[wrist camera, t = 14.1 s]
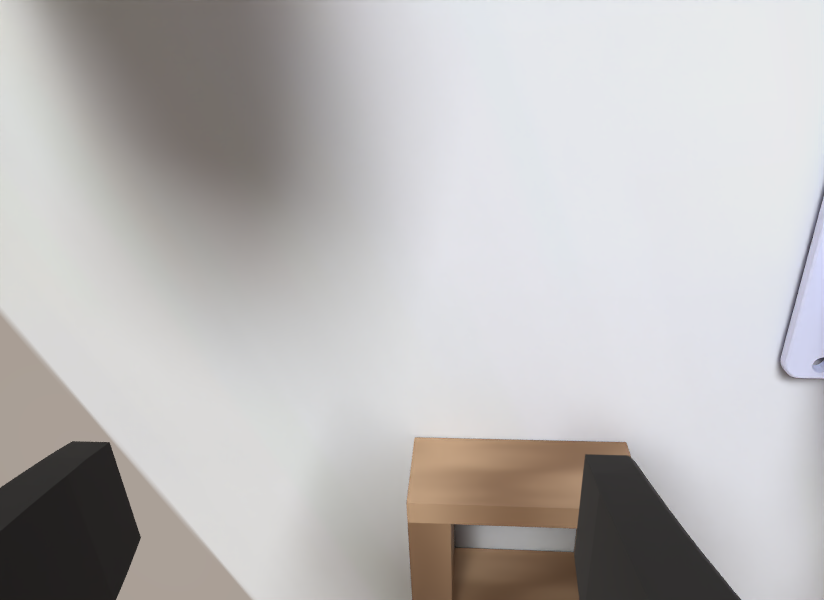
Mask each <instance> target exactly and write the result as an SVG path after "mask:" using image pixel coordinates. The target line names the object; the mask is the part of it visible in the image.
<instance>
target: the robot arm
mask: <svg viewBox="0 0 824 600" xmlns="http://www.w3.org/2000/svg"><path fill="white" fill-rule="evenodd" d="M823 357H824V197H823V201H822V205H821V209H820V212H819V216H818V220H817V224H816V227H815V231H814V235H813V239H812V243H811V246H810V250H809V254H808V258H807V261H806V265H805V269H804V273H803V276H802V280H801V284H800V288H799V291H798V295H797V299H796V303H795V306H794V310H793V314H792V318H791V321H790V325H789V329H788V333H787V336H786V340H785V344H784V348H783V352H782V355H781V365H782V367H783V369H784V370H785V371H786V372H787V374H789V375H790V376H792V377H795V378H818V379H824V361H823V362H821V363H820V364H818V365H813V363H814V362H815V361H816V360H817V359H819V358H823ZM140 538H141V537H140V534H139V531H138V528H137V525H136V522H135V519H134V516H133V513H132V510H131V507H130V503H129V500H128V497H127V494H126V491H125V488H124V485H123V482H122V479H121V476H120V473H119V470H118V467H117V464H116V461H115V458H114V455H113V451H112V448H111V445H110V443H109V442H75V441H73V442H71V443H69V444H67V445H66V446H64V447H62V448H61V449H59V450H57V451H55V452H54V453H52V454H51V455H49V456H48V457H46V458H45V459H43V460H41V461H40V462H38V463H37V464H35V465H34V466H32V467H31V468H29V469H28V470H26V471H25V472H23V473H22V474H20V475H19V476H17V477H16V478H14V479H13V480H11V481H10V482H8V483H7V484H5V485H4V486H2V487H1V488H0V600H116V598H117V596H118V594H119V591H120V589H121V587H122V584H123V582H124V580H125V577H126V575H127V572H128V570H129V567H130V565H131V562H132V559H133V556H134V554H135V552H136V549H137V546H138V544H139V541H140ZM574 558H575V567H576V575H577V584H578V593H579V600H741V599H740V598H739V597H738V595H737V594H736V593H735V592H734V591H733V590H732V588H731V587H730V586H729V585H728V583H727V582H726V581H725V580H724V578H723V577H722V576H721V575H720V574H719V572H718V571H717V570H716V569H715V567H714V566H713V565H712V564H711V563H710V561H709V560H708V559H707V558H706V556H705V555H704V554H703V553H702V552H701V550H700V549H699V548H698V547H697V545H696V544H695V543H694V541H693V540H692V539H691V538H690V536H689V535H688V534H687V532H686V531H685V530H684V528H683V527H682V526H681V524H680V523H679V522H678V521H677V519H676V518H675V517H674V515H673V514H672V513H671V511H670V510H669V509H668V507H667V506H666V504H665V503H664V502H663V500H662V499H661V498H660V496H659V495H658V493H657V492H656V491H655V489H654V488H653V487H652V485H651V484H650V482H649V481H648V479H647V478H646V477H645V475H644V474H643V472H642V471H641V469H640V468H639V467H638V465H637V464H636V462H635V461H634V460H633V459H632V458H631V457H630V456H629V455H595V454H585V460H584V469H583V478H582V487H581V496H580V506H579V515H578V524H577V533H576V542H575V552H574Z"/></svg>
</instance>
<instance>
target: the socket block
mask: <svg viewBox="0 0 824 600" xmlns="http://www.w3.org/2000/svg"><path fill="white" fill-rule="evenodd" d="M585 454H595V455H629V456H630V452H629V449H628V446H627V443H626V442H587V441H544V440H501V439H458V438H415V439H414V447H413V455H412V463H411V471H410V479H409V488H408V496H407V518H408V535H409V552H410V569H411V586H412V600H579V593H578V584H577V575H576V567H575V558H574V552H575V547H574V552H554V551H529V550H503V549H477V548H454V524H464V525H492V526H520V527H548V528H576V533H577V524H578V515H579V506H580V496H581V487H582V478H583V469H584V460H585ZM630 457H631V456H630ZM575 542H576V538H575Z"/></svg>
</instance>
